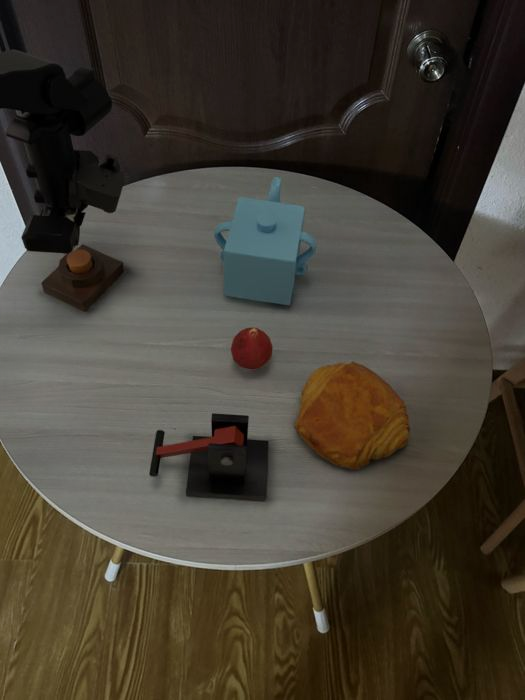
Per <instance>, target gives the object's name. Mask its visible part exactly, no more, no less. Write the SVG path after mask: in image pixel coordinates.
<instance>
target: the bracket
mask: <svg viewBox="0 0 525 700" xmlns="http://www.w3.org/2000/svg"><path fill="white" fill-rule="evenodd" d="M249 418H250V417H249V415H247V414H246V415H245V414H231V413H230V414H229V413H216V412H213V413H212V412H211V419H210V423H211V436H203V435H192V439H191V441H193V440H199V439H204V438H210V437H214V432H215V429H220V428H225V427H231V426H236V427H237V428H238V429H239V430H240V431H241V432H242V433H243V434H244V440H243V445H229V444H213V443H209V445H208V450H204V451H198V452H193V453H190V454H189V455H190V456H189V464H188V472H187V479H186V486H185V487H186V488H185V496H186V497H195V498H207V499H208V498H211V499H224V500H225V499H226V500H242V501H257V502H258V501H259V502H266V501H267V486H268V485H267V484H268V463H269V444H270V443H269V442H270V441H269V440H265V439H252V438H251V439H248V437H249V436H248V435H249V420H250V419H249Z"/></svg>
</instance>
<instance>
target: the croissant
mask: <svg viewBox="0 0 525 700" xmlns="http://www.w3.org/2000/svg"><path fill="white" fill-rule="evenodd" d="M300 394H301V398H300V405H301V406H300V408H299V410H298V414H297V421H295V422H294V425H293V426H294V428H295V429H296V432H297V433H298V434H299V435H300V437H301V439H302V440H303V441H304V442H305V443H306V445H308V446H309V448H310V449H312V450H313V451H314V452H315V453H316V454H317V455H319V456H320V457H321V458H323V459H325V460H326V461H328V462H330V463H332V464H333V465H335V466H338V467H342V468H347V469H350V470H358V471H359V470H361V468H362V467H366V466H367V465H369V464H370V462H371V460H382V458H383V459H385V458H387V457H391V455H392V454H394V453H395V452H396V451H397V450H398V449H402V448H404V447H405V446H406V445H407V444H408V442H409V440H410V439H409V437H410V432H411V428H410V421H409V420H410V419H409V414H408V409H407V404H406V403H405V401H404V400H403V398H401V397H400V395H398V393H397V391H396V390H394V388H393V387H392V385H390V384H389V383H388V382H387V381H385V380H384V379H383V377H381V376H380V375H379V374H377V372H375V371H373V370H372V369H370V368H369V367H367V366H365V365H363V364H361V363H358V362H355V361H351V362H349V363H345V362H338V363H336V364H332V365H331V364H328V365H325V366H320V367H318V368H317V369H315V370H314V371H313V372H312V374H310V376H309V378H308V379H307V381H306V382H305V384H304V386H303V387H302V390H301V393H300Z"/></svg>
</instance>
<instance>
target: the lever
mask: <svg viewBox="0 0 525 700" xmlns="http://www.w3.org/2000/svg"><path fill="white" fill-rule="evenodd" d="M165 435H166V432H165V430H163V429H157V430H156V431H155V436H154V437H155V438H154V442H153V449H152V455H151V461H150V466H149V472H148V474H149V476H150V477H153V478H157V477H158V476H159V471H160V465H161V459H163V458H164V459H165V458H169V457H175V456H181V455H186V454H191V453H193V452H198V451H204V450H208V445H209V443H213V444H229V445H243V440H244V434H243V433H242V432H241V431H240V430H239V429H238V428H237V427H236V426H231V427H225V428H220V429H215V432H214V437H212V436H209V437H210V438H204V439H199V440H193V441H192V440H187V441H184V442H177V443H172V444H167V445H164V441H165Z"/></svg>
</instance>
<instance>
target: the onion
mask: <svg viewBox="0 0 525 700" xmlns="http://www.w3.org/2000/svg"><path fill="white" fill-rule="evenodd" d="M230 352H231V356H232V360H233V361H234V362H235V363H236V365H238V366H239V367H241V368H244V369H246V370H251V371H252V370H258V369H261V368H263V367H264V366H266V365H267V364H268V363H269V362H270V360H271V358H272V355H273V343H272V341H271V338H270V336H269V335H268V334H267V333H266V332H265V331H264V330H262V329H260V328H258V327H245V328H244V329H242V330H240V331H238V333H236V335H235V336H234V337H233V339H232V343H231V345H230Z"/></svg>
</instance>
